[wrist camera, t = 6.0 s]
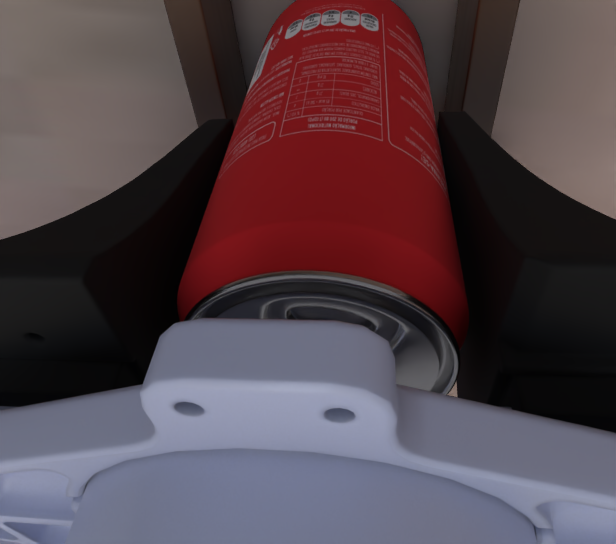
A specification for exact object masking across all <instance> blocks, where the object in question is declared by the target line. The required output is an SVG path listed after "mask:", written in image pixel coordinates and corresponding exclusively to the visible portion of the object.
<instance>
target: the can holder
mask: <svg viewBox="0 0 616 544" xmlns="http://www.w3.org/2000/svg"><path fill="white" fill-rule="evenodd" d="M519 3H520V0H459V2H458V10H457V17H456V25H455V33H454V40H453V48H452V55H451V63H450V71H449V78H448V86H447V94H446V101H445V109H444V112H459V111H465V112H466V113H467V114H468V115H469V116H470V117H471V118H472V119H473V120H474V121H475V122H476V123H477V124H478V125H479V126H480V127H481V128H482V129H483V130H484V131H485V132H486V133H487V134H488V135H489V136H490V137H491V133H492V129H493V124H494V119H495V115H496V110H497V105H498V101H499V96H500V92H501V87H502V82H503V78H504V73H505V68H506V64H507V59H508V54H509V50H510V45H511V40H512V36H513V31H514V26H515V22H516V17H517V13H518V8H519ZM164 4H165V7H166V11H167V14H168V18H169V22H170V25H171V29H172V33H173V36H174V40H175V44H176V47H177V51H178V55H179V58H180V62H181V65H182V69H183V73H184V76H185V80H186V84H187V87H188V91H189V95H190V98H191V102H192V106H193V109H194V113H195V116H196V120H197V124H198V127H200V126H201V125H203V124H204V123H205V122H207V121H208V120H210V119H232V120H233V124H234V128H235V126H236V123H237V120H238V117H239V114H240V111H241V109H242V106H243V103H244V100H245V97H246V94H247V90H246V85H245V79H244V74H243V69H242V63H241V58H240V52H239V47H238V41H237V36H236V30H235V25H234V19H233V14H232V9H231V3H230V0H164Z"/></svg>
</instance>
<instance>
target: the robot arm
mask: <svg viewBox="0 0 616 544" xmlns="http://www.w3.org/2000/svg"><path fill="white" fill-rule="evenodd" d="M233 131H234V124H233V120H232V119H210V120H208V121H207V122H205V123H204V124H203V125H201V126H200V127H199V128H198V129H196V130H195V131H194V132H193V133H192V134H190V135H189V136H188V137H187V138H186V139H185V140H183V141H182V142H181V143H180V144H179V145H177V146H176V147H175V148H174V149H173V150H172V151H170V152H169V153H168V154H167V155H166V156H164V157H163V158H162V159H160V160H159V161H158V162H156V163H155V164H154V165H152V166H151V167H150V168H148V169H147V170H146V171H144V172H143V173H142V174H141V175H139V176H138V177H136V178H135V179H133V180H132V181H130V182H129V183H127V184H126V185H124V186H123V187H121V188H119V189H118V190H116V191H114V192H113V193H111V194H109V195H108V196H106V197H104V198H102V199H100V200H98V201H96V202H94V203H92V204H90V205H88V206H86V207H84V208H82V209H80V210H78V211H76V212H74V213H72V214H70V215H68V216H65V217H63V218H60V219H58V220H56V221H53V222H51V223H48V224H46V225H43V226H40V227H38V228H35V229H32V230H30V231H27V232H24V233H21V234H18V235H15V236H11V237H8V238H5V239H2V240H0V544H616V219H613V218H611V217H609V216H606V215H604V214H602V213H600V212H598V211H595V210H593V209H591V208H589V207H587V206H586V205H584V204H582V203H580V202H578V201H576V200H574V199H572V198H570V197H568V196H567V195H565V194H563V193H561V192H560V191H558V190H557V189H555V188H553V187H552V186H550V185H549V184H547V183H546V182H544V181H543V180H541V179H540V178H538V177H537V176H535V175H534V174H533V173H531V172H530V171H529V170H527V169H526V168H525V167H524V166H522V165H521V164H520V163H519V162H517V161H516V160H515V159H514V158H512V157H511V156H510V155H509V154H508V153H507V152H506V151H505V150H503V149H502V148H501V147H500V146H499V145H498V144H497V143H496V142H495V141H494V140H493V139H492V138H491V137H490V136H489V135H488V134H487V133H486V132H485V131H484V130H483V129H482V128H481V127H480V126H479V125H478V124H477V123H476V122H475V121H474V120H473V119H472V118H471V117H470V116H469V115H468V114H467V113H466V112H465V111H459V112H439V120H438V128H437V132H438V137H439V143H440V149H441V154H442V160H443V166H444V171H445V177H446V183H447V188H448V194H449V200H450V205H451V211H452V217H453V222H454V228H455V234H456V239H457V245H458V251H459V256H460V262H461V268H462V273H463V279H464V285H465V290H466V296H467V302H468V309H469V325H468V331H467V335H466V338H465V340H464V343H463V345H462V347H461V349H460V360H461V364H460V371H459V375H458V378H457V394H458V397H453V396H449V395H444V394H440V393H435V392H431V391H426V390H422V389H417V388H413V387H408V386H404V385H399V384H396V369H395V357H394V354H393V352H392V349H391V347H390V344H389V342H388V341H387V340H386V339H384V338H382V337H381V336H379V335H378V334H376V333H374V332H373V331H371V330H369V329H368V328H366V327H365V326H363V325H358V324H352V323H346V322H341V321H335V320H286V319H233V318H201V319H195V320H188V321H182V322H180V319H179V315H178V310H177V294H178V289H179V285H180V282H181V279H182V276H183V273H184V270H185V267H186V264H187V262H188V259H189V256H190V253H191V250H192V247H193V245H194V242H195V239H196V236H197V233H198V230H199V228H200V225H201V222H202V219H203V216H204V213H205V211H206V208H207V205H208V202H209V199H210V196H211V194H212V191H213V188H214V185H215V182H216V179H217V177H218V174H219V171H220V168H221V165H222V162H223V160H224V157H225V154H226V151H227V148H228V145H229V143H230V140H231V137H232V134H233Z"/></svg>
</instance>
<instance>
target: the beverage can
mask: <svg viewBox="0 0 616 544" xmlns="http://www.w3.org/2000/svg"><path fill="white" fill-rule="evenodd" d="M177 310H178V315H179V319H180V322H182V321H188V320H195V319H201V318H233V319H286V320H335V321H341V322H346V323H352V324H358V325H363V326H365V327H366V328H368V329H369V330H371V331H373V332H374V333H376V334H378V335H379V336H381V337H382V338H384V339H386V340H387V341H388V342H389V344H390V347H391V349H392V352H393V354H394V357H395V369H396V384H399V385H404V386H408V387H413V388H417V389H422V390H426V391H431V392H435V393H440V394H444V395H447V394H448V393H449V392H450V391H451V389H452V388H453V386H454V384H455V382H456V380H457V378H458V375H459V371H460V364H461V360H460V349H461V347H462V345H463V343H464V340H465V338H466V335H467V331H468V325H469V309H468V302H467V296H466V290H465V285H464V279H463V273H462V268H461V262H460V256H459V251H458V245H457V239H456V234H455V228H454V222H453V217H452V211H451V205H450V200H449V194H448V188H447V183H446V177H445V171H444V166H443V160H442V154H441V149H440V143H439V137H438V132H437V126H436V120H435V115H434V109H433V103H432V97H431V92H430V86H429V80H428V75H427V69H426V63H425V58H424V52H423V48H422V44H421V40H420V37H419V35H418V33H417V31H416V29H415V27H414V25H413V23H412V22H411V20H410V19H409V18H408V16H407V15H406V14H405V13H404V12H403V11H402V10H401V9H400V8H399V7H398V6H397V5H396V4H395V3H393V2H392V1H391V0H296V1H295V2H294V3H292V4H291V5H290V6H289V7H288V8H287V9H286V10H284V12H283V13H282V14H281V15H280V16H279V17H278V19H277V20H276V21H275V23H274V24H273V26H272V28H271V30H270V31H269V34H268V36H267V38H266V41H265V44H264V46H263V49H262V52H261V55H260V58H259V61H258V63H257V66H256V69H255V72H254V75H253V78H252V80H251V83H250V86H249V89H248V92H247V94H246V97H245V100H244V103H243V106H242V109H241V111H240V114H239V117H238V120H237V123H236V126H235V128H234V131H233V134H232V137H231V140H230V143H229V145H228V148H227V151H226V154H225V157H224V160H223V162H222V165H221V168H220V171H219V174H218V177H217V179H216V182H215V185H214V188H213V191H212V194H211V196H210V199H209V202H208V205H207V208H206V211H205V213H204V216H203V219H202V222H201V225H200V228H199V230H198V233H197V236H196V239H195V242H194V245H193V247H192V250H191V253H190V256H189V259H188V262H187V264H186V267H185V270H184V273H183V276H182V279H181V282H180V285H179V289H178V294H177Z"/></svg>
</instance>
